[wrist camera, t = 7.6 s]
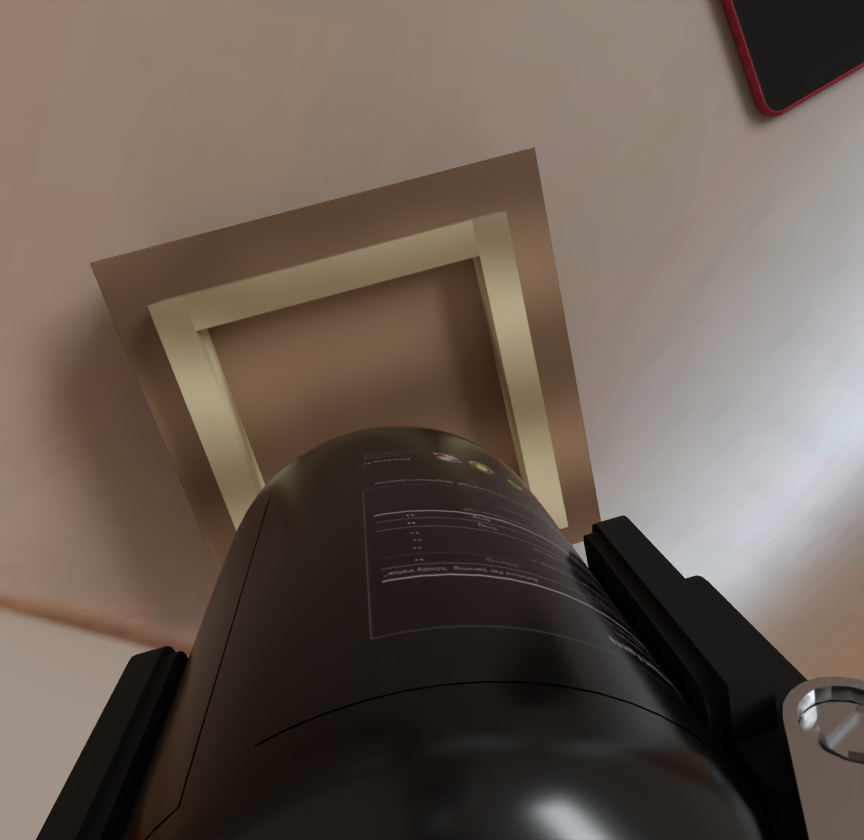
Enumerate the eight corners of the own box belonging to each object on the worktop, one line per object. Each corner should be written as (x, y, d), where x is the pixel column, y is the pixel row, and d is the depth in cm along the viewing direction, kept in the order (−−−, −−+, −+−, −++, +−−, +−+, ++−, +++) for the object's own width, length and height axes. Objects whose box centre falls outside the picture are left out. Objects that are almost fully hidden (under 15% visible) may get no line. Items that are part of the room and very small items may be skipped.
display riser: (145, 255, 27) (70, 265, 20) (497, 164, 27) (547, 141, 20) (265, 565, 32) (239, 661, 25) (559, 481, 33) (617, 552, 25)
